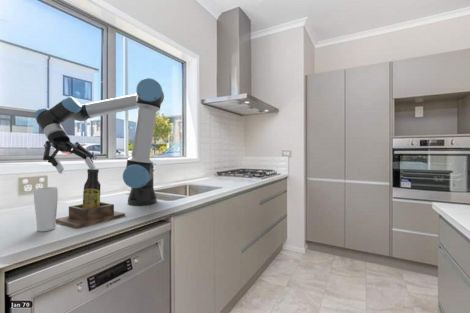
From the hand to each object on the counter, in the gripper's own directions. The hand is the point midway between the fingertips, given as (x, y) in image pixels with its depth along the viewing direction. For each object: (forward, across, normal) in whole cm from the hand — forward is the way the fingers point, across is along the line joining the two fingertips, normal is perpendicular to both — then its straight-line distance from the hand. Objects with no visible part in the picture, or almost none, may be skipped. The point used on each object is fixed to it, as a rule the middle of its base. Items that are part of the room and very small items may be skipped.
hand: (78, 170), depth 104 cm
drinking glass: (+19, +16, -10) cm, 27 cm away
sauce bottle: (+19, 0, -8) cm, 21 cm away
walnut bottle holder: (+20, 0, -9) cm, 22 cm away
